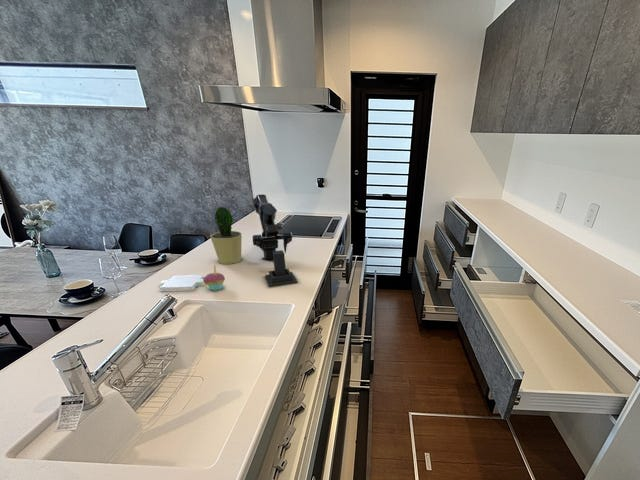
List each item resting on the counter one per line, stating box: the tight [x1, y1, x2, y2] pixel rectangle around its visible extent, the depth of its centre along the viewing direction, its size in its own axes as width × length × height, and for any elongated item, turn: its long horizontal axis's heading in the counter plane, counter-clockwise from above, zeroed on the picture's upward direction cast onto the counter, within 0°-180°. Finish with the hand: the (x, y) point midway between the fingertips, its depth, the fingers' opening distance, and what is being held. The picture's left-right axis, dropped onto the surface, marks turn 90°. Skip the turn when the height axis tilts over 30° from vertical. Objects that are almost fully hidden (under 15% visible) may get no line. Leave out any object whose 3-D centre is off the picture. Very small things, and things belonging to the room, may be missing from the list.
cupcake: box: [203, 264, 226, 291], centre depth 133 cm, size 9×8×12 cm
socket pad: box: [264, 268, 298, 288], centre depth 145 cm, size 13×13×4 cm
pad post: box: [272, 249, 287, 277], centre depth 143 cm, size 4×4×13 cm
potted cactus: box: [209, 206, 242, 265], centre depth 162 cm, size 15×15×30 cm
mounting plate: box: [159, 274, 206, 292], centre depth 137 cm, size 18×13×2 cm
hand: (275, 253), depth 148 cm, fingers open, 9 cm apart
